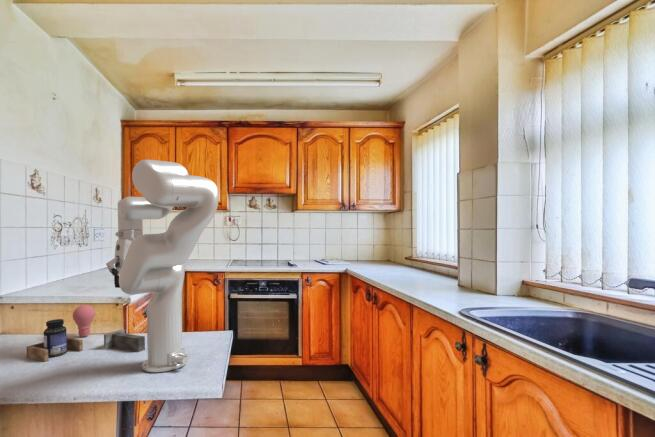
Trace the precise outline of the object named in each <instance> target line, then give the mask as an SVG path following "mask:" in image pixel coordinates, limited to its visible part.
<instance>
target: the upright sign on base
mask: <svg viewBox="0 0 655 437" xmlns="http://www.w3.org/2000/svg"><path fill="white" fill-rule="evenodd" d="M113 347H115V348H114V349H119V348H120V349H121V350H124V351H125V350H126V351H130V352H136V353H140V352H143V351H145V350H146V336H143V335H138V334H131V333H125V329H123V328H121V329H118V330H115V331H112V332H108V333H104V334H103V349H104V350H108V349H111V348H113Z"/></svg>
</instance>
